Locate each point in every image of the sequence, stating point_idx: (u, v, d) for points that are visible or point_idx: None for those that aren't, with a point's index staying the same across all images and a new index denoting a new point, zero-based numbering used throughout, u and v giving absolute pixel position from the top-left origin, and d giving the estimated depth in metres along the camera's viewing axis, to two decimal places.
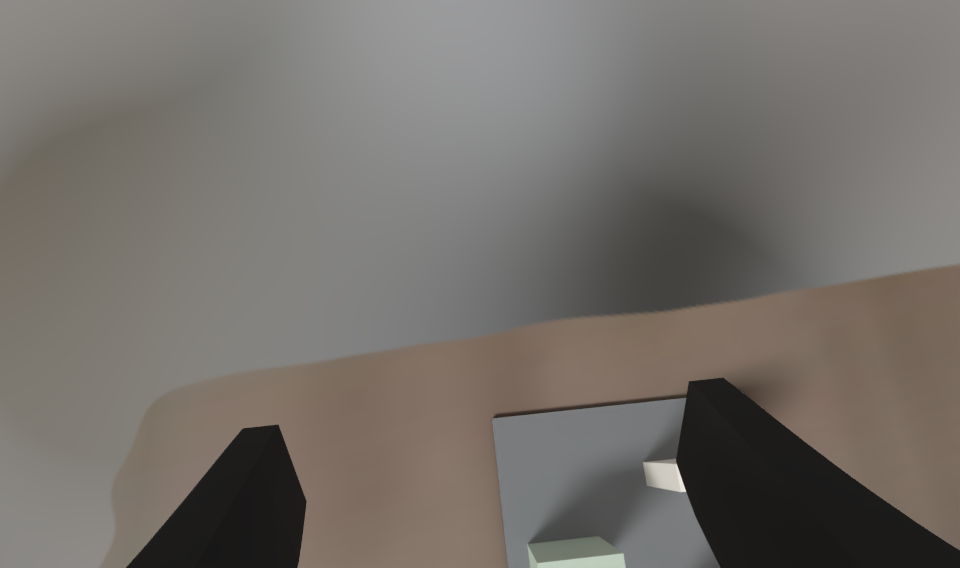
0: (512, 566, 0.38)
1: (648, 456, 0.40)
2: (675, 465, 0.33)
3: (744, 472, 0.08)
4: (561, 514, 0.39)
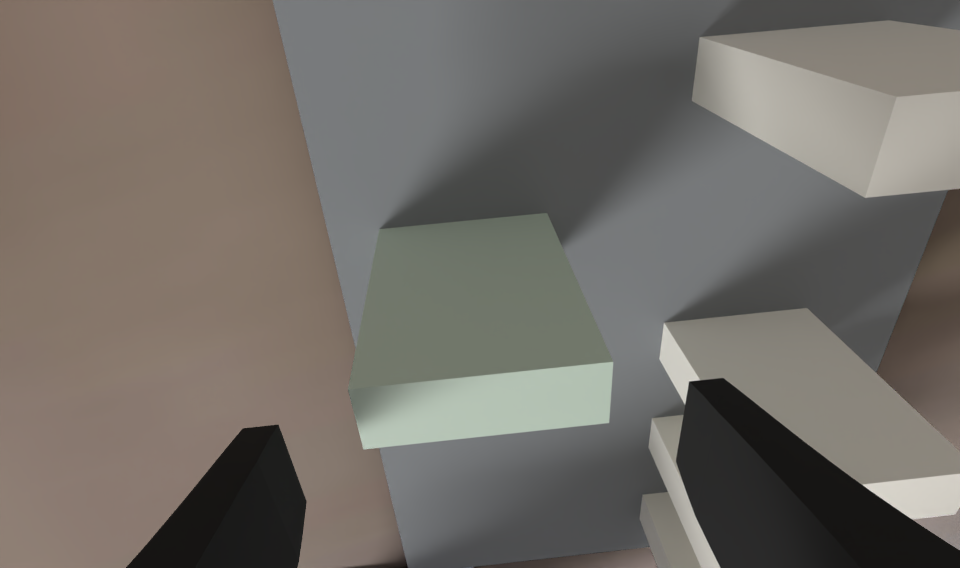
0: (347, 270, 0.17)
1: (720, 20, 0.14)
2: (891, 101, 0.08)
3: (744, 472, 0.08)
4: (462, 168, 0.15)
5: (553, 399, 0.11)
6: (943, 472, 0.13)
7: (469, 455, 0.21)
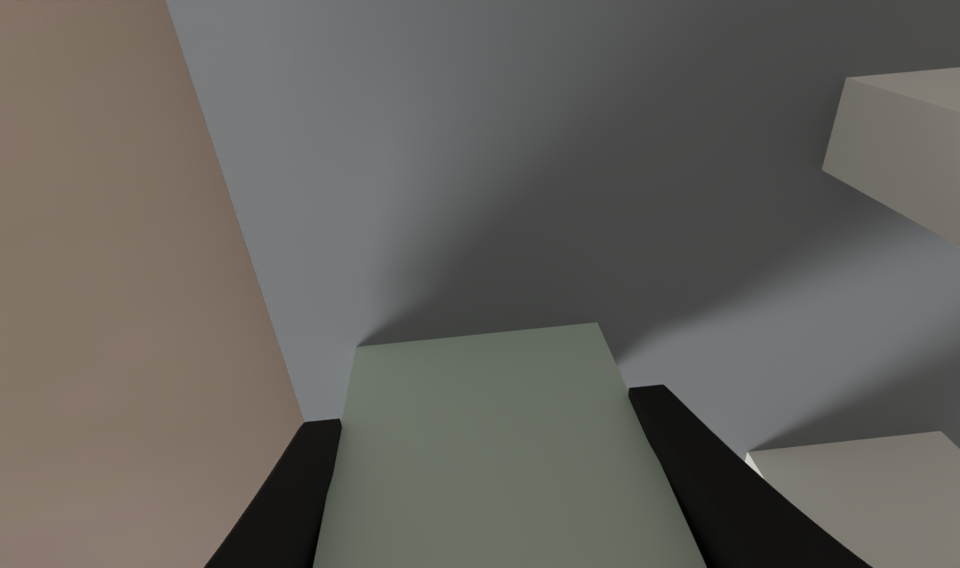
0: (311, 399, 0.12)
1: (880, 51, 0.09)
2: None
3: (673, 480, 0.08)
4: (477, 265, 0.10)
5: None
6: None
7: None
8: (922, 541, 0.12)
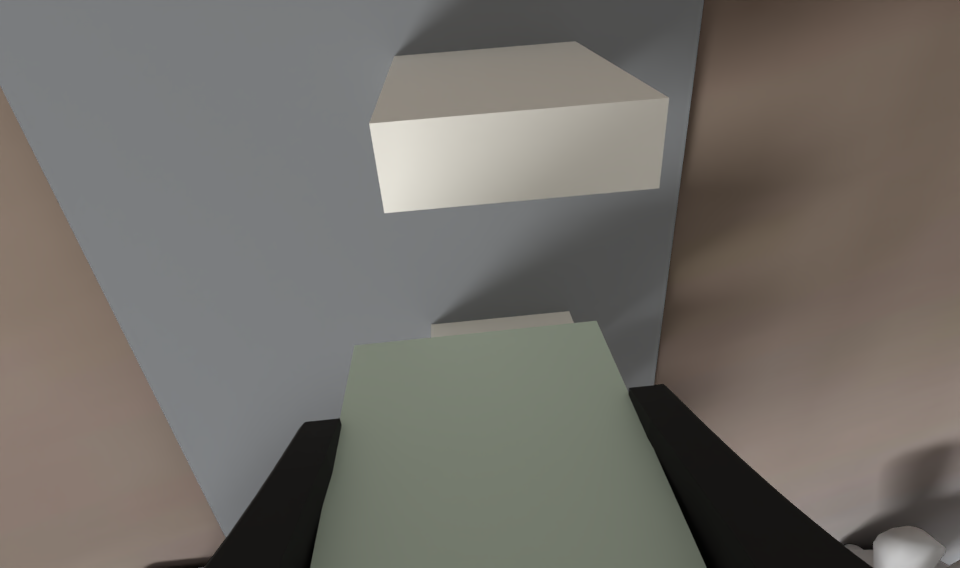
0: (104, 273, 0.18)
1: (410, 40, 0.15)
2: (371, 127, 0.09)
3: (673, 480, 0.08)
4: (193, 177, 0.16)
5: None
6: None
7: (270, 451, 0.22)
8: None
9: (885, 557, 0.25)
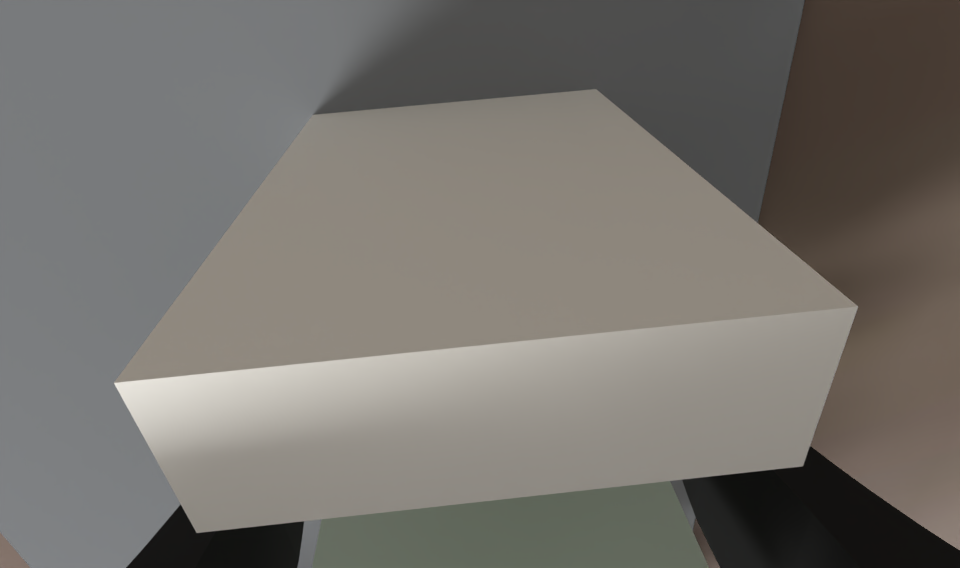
0: None
1: (337, 90, 0.09)
2: (127, 384, 0.04)
3: None
4: (24, 290, 0.11)
5: None
6: None
7: None
8: None
9: None
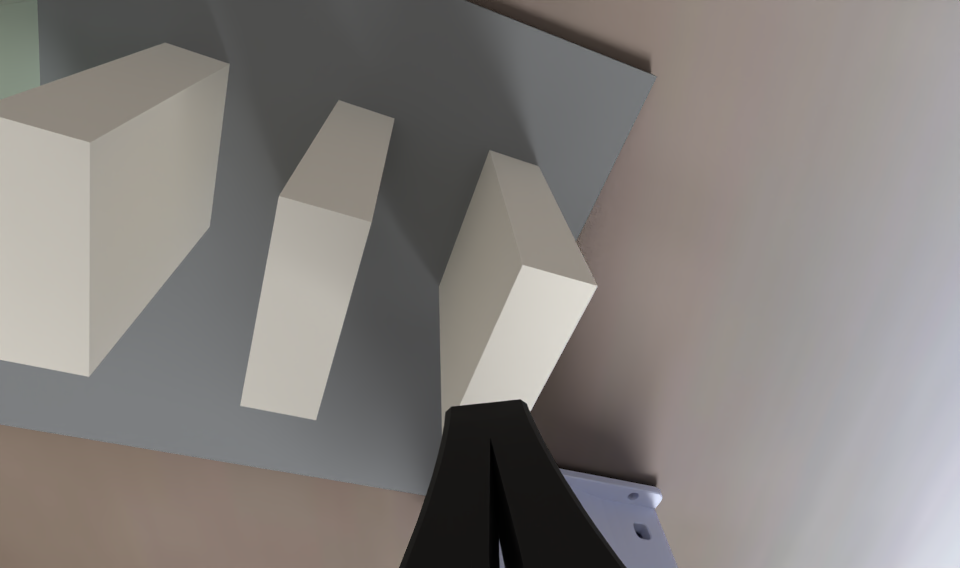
0: (46, 426, 0.21)
1: None
2: None
3: (502, 499, 0.08)
4: None
5: None
6: None
7: None
8: None
9: None
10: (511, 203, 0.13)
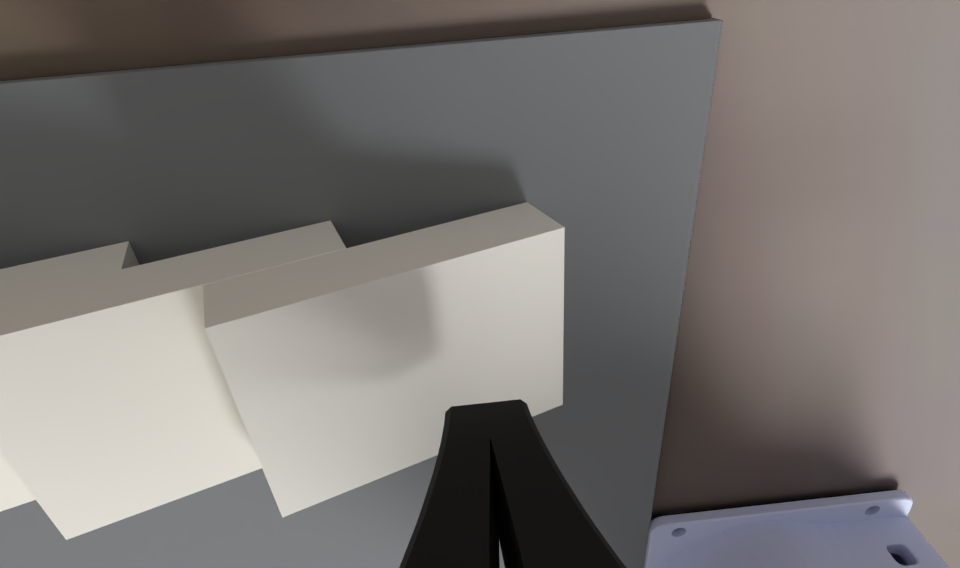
0: None
1: None
2: None
3: (502, 499, 0.08)
4: (90, 563, 0.18)
5: None
6: None
7: None
8: None
9: None
10: (364, 247, 0.11)
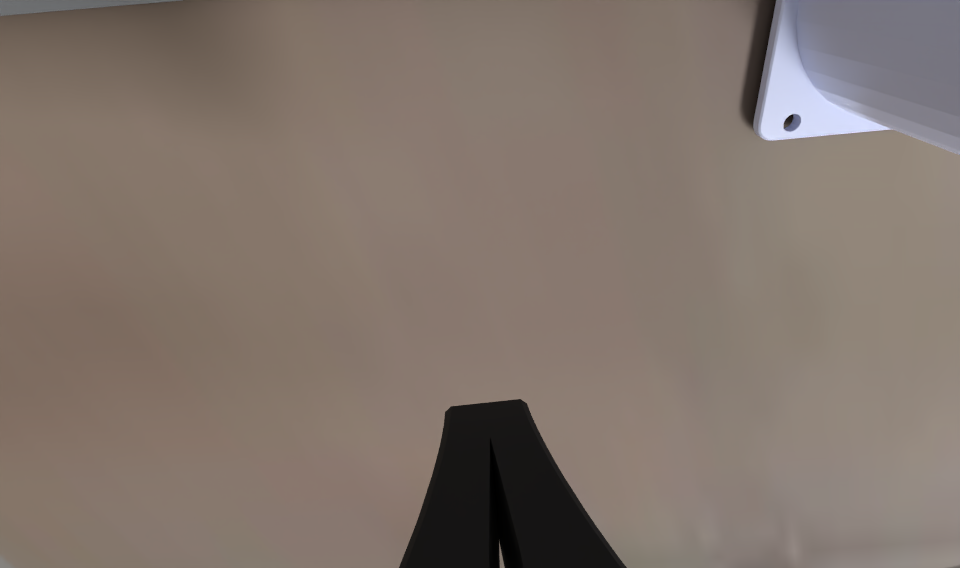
0: None
1: None
2: None
3: (502, 499, 0.08)
4: None
5: None
6: None
7: None
8: None
9: None
10: None
